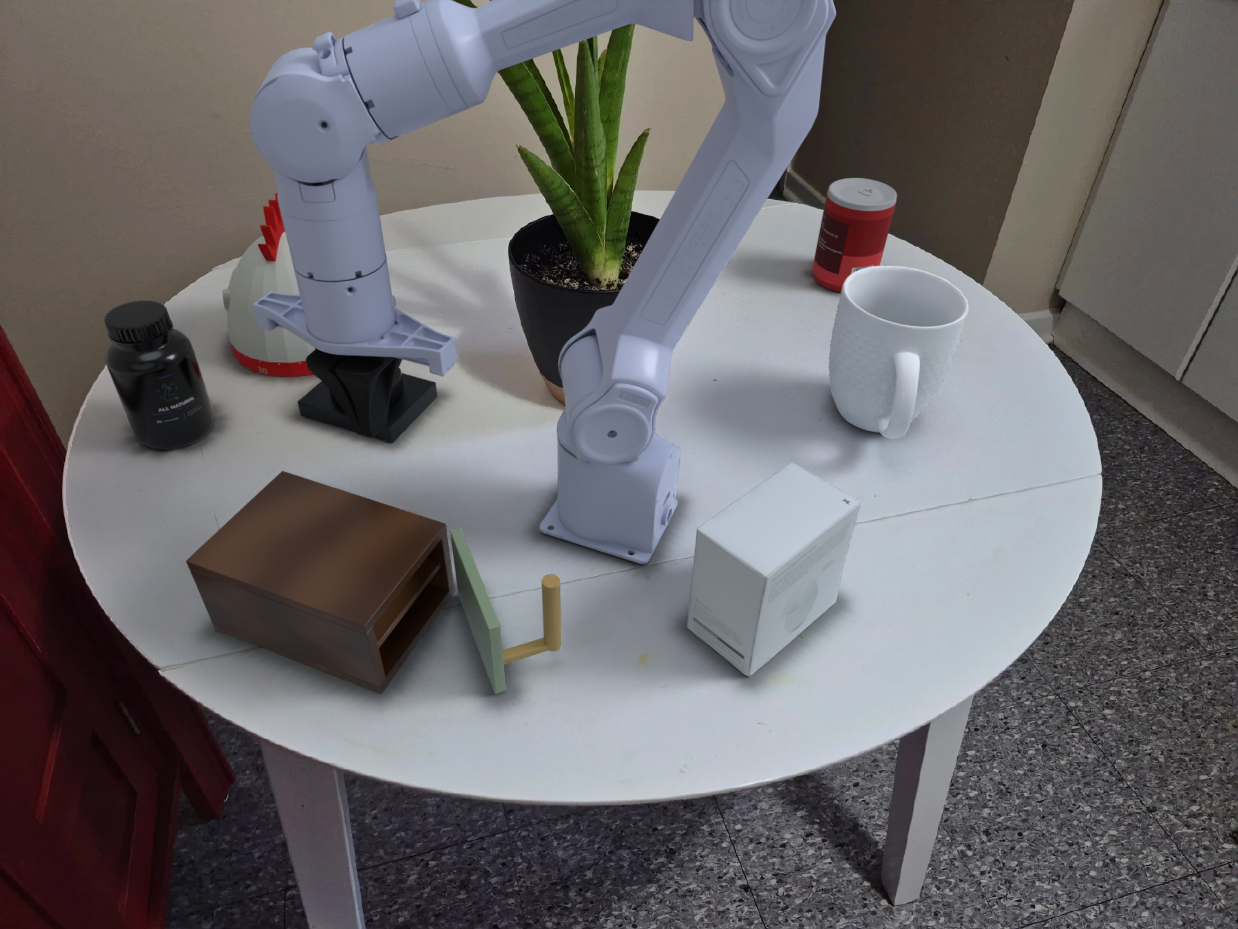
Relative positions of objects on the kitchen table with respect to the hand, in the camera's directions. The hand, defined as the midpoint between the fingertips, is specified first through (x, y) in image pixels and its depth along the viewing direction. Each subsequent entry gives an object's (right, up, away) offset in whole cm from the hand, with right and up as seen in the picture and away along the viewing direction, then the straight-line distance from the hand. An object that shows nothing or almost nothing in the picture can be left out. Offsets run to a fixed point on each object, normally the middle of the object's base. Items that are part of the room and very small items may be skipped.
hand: (372, 428), depth 64 cm
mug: (+43, +2, +20) cm, 47 cm away
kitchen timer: (-15, +10, +28) cm, 33 cm away
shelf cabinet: (-3, -13, 0) cm, 14 cm away
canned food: (+45, +20, +42) cm, 65 cm away
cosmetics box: (+29, -14, +1) cm, 32 cm away
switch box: (-6, +3, +19) cm, 20 cm away
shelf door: (+10, -15, -1) cm, 18 cm away
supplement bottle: (-22, +1, +16) cm, 27 cm away
